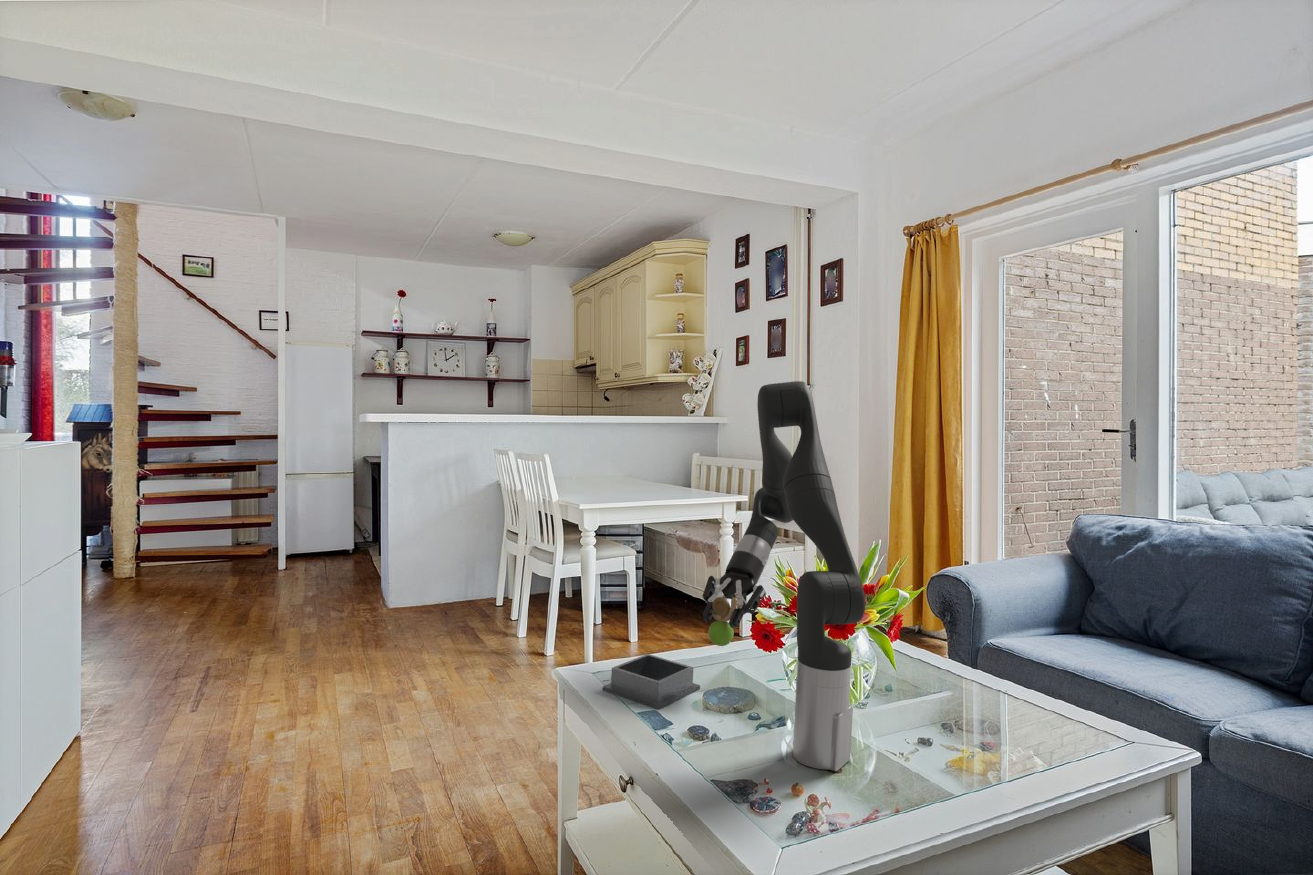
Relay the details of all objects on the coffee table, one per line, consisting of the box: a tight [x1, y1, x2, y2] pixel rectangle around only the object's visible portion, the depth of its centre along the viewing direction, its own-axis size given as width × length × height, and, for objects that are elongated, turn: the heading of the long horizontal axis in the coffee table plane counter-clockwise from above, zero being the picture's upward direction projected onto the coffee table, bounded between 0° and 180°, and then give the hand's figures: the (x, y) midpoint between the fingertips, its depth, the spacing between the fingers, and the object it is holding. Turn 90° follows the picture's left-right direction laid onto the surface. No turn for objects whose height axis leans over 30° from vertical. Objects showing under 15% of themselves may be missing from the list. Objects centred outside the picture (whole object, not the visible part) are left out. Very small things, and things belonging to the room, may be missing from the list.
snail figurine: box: [707, 593, 738, 647], centre depth 158 cm, size 5×6×12 cm
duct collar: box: [602, 653, 701, 710], centre depth 159 cm, size 15×15×5 cm
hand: (718, 622), depth 157 cm, fingers closed on snail figurine, 6 cm apart
